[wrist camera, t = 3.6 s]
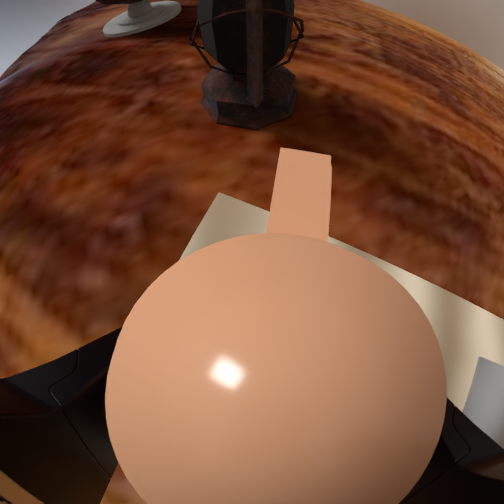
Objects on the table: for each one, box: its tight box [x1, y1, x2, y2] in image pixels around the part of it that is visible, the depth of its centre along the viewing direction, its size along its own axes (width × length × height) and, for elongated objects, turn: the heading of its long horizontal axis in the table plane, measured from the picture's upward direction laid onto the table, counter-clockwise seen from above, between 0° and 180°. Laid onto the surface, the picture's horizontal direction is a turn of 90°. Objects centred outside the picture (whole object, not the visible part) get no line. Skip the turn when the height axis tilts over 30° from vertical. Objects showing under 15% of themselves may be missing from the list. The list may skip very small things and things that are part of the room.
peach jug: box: [105, 148, 447, 504], centre depth 9 cm, size 9×6×11 cm
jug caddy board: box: [179, 193, 504, 449], centre depth 11 cm, size 30×16×4 cm, turn 65°
